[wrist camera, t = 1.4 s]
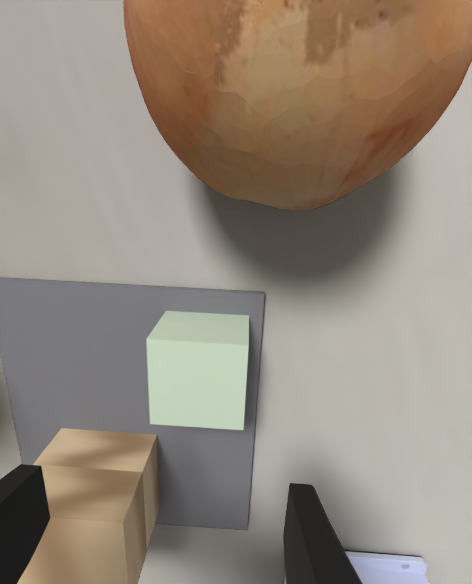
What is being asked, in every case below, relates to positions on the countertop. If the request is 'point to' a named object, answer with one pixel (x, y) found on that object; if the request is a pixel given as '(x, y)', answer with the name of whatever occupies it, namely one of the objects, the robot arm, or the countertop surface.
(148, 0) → the onion
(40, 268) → the countertop surface
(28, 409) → the mat
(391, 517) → the countertop surface
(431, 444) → the countertop surface
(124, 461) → the oak slab lower
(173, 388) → the sage block
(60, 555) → the oak slab upper
